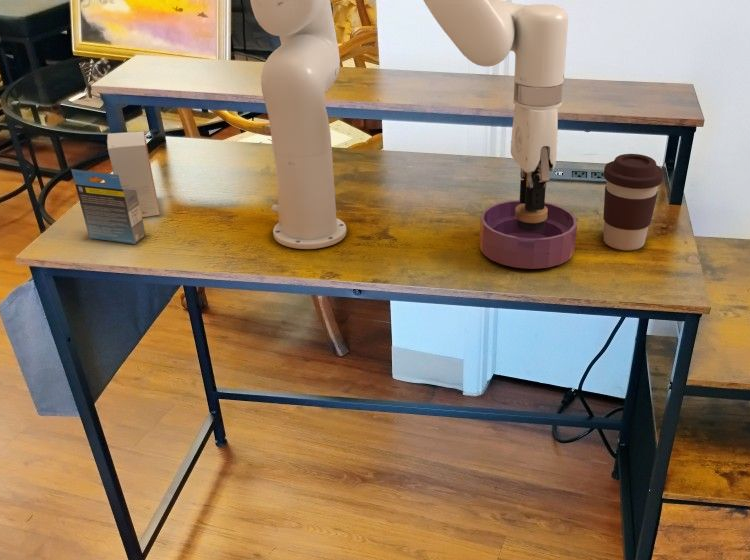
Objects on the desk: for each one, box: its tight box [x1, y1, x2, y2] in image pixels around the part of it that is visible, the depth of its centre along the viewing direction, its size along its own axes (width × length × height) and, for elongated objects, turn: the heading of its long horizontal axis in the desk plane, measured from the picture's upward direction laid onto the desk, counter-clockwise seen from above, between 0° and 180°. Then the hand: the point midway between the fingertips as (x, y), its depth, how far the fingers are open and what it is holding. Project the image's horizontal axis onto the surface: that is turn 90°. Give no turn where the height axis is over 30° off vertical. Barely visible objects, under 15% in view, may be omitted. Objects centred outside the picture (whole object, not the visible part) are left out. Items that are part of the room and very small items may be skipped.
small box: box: [106, 131, 160, 218], centre depth 149 cm, size 8×6×13 cm
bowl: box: [478, 199, 578, 270], centre depth 142 cm, size 16×16×6 cm
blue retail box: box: [70, 168, 146, 245], centre depth 139 cm, size 9×4×12 cm, turn 77°
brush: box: [515, 166, 548, 231], centre depth 137 cm, size 5×5×11 cm
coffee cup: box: [602, 153, 665, 252], centre depth 143 cm, size 10×10×15 cm
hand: (531, 205), depth 139 cm, fingers closed on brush
